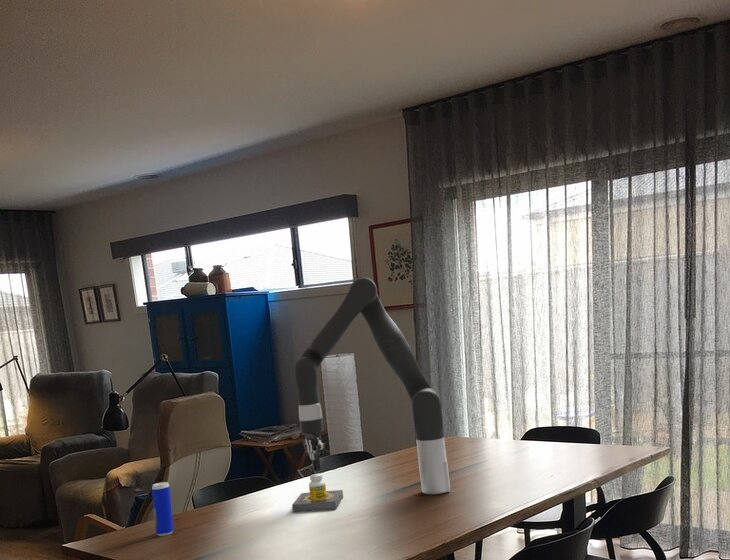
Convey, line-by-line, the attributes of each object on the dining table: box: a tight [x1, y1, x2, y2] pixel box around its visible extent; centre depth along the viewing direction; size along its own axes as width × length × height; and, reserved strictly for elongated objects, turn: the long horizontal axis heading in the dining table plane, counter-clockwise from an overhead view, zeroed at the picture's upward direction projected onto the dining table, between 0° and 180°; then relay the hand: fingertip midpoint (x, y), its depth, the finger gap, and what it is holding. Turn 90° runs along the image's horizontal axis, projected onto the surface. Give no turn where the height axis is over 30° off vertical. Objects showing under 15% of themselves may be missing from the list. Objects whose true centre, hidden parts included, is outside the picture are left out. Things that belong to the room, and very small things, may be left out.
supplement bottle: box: [308, 473, 327, 500], centre depth 226 cm, size 5×5×10 cm
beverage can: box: [151, 481, 174, 537], centre depth 213 cm, size 5×5×15 cm
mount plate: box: [291, 489, 344, 514], centre depth 226 cm, size 14×14×2 cm
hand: (316, 470), depth 228 cm, fingers closed
